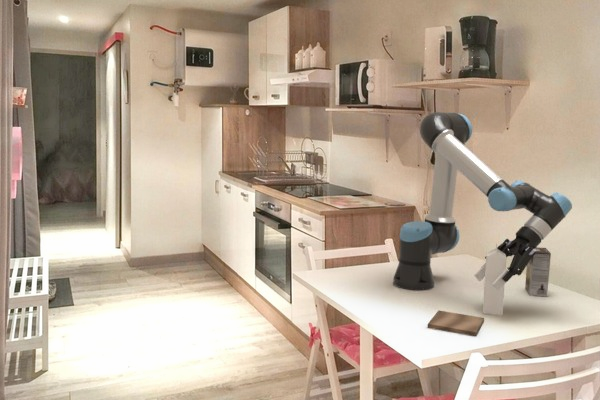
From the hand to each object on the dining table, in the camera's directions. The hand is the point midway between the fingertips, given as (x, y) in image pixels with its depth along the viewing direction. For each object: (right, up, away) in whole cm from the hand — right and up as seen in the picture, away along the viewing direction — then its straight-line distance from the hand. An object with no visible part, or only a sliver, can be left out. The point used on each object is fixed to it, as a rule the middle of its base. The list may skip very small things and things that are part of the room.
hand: (485, 282), depth 179 cm
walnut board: (-12, -11, -10) cm, 20 cm away
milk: (+3, -10, +2) cm, 11 cm away
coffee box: (+27, -8, +25) cm, 37 cm away
